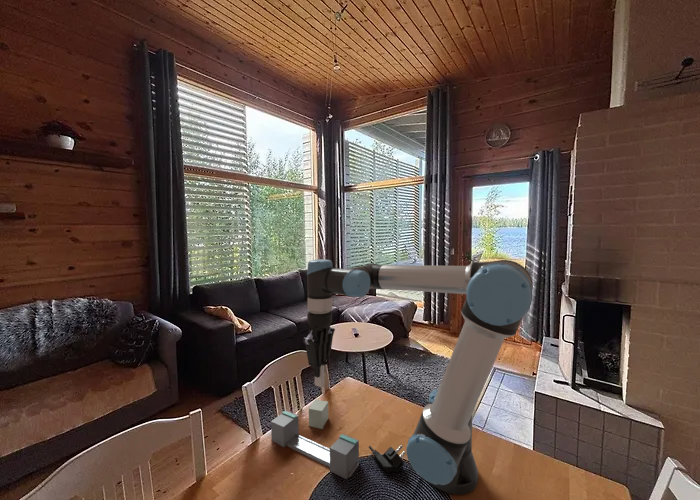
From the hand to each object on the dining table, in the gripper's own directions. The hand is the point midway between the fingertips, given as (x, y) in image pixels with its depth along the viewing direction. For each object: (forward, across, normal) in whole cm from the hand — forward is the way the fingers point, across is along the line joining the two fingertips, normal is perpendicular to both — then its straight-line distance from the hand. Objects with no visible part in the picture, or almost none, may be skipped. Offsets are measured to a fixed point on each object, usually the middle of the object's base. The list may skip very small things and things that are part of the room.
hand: (319, 385), depth 94 cm
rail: (+21, +2, -1) cm, 21 cm away
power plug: (+18, -10, +15) cm, 25 cm away
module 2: (+21, -10, -8) cm, 25 cm away
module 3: (+21, +2, +11) cm, 23 cm away
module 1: (+21, +2, -13) cm, 25 cm away
